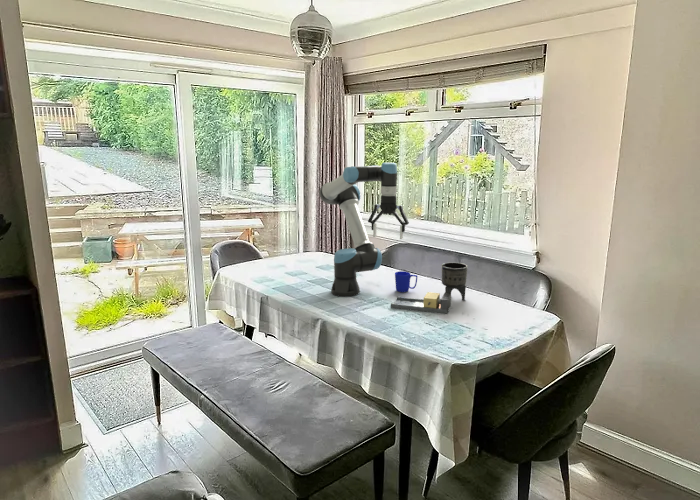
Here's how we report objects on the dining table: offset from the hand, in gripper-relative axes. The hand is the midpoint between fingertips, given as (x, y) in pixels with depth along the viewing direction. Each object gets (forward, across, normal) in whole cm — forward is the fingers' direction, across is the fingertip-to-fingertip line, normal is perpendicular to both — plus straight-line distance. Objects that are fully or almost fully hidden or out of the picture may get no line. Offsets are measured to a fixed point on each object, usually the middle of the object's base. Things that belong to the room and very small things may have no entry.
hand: (387, 237), depth 236 cm
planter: (+32, +32, +11) cm, 47 cm away
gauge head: (+30, +25, -8) cm, 40 cm away
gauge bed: (+32, +19, -7) cm, 38 cm away
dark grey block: (+32, +31, -7) cm, 45 cm away
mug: (+33, +6, +16) cm, 37 cm away
